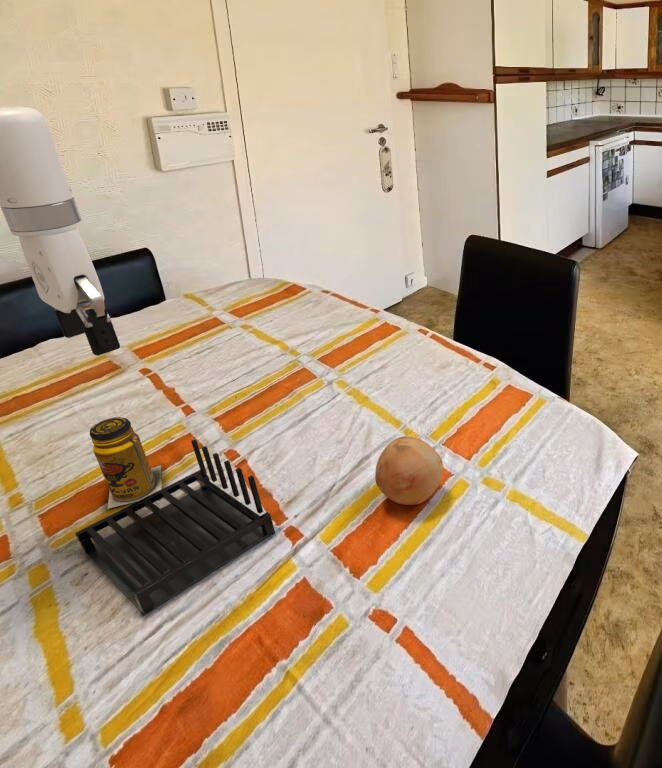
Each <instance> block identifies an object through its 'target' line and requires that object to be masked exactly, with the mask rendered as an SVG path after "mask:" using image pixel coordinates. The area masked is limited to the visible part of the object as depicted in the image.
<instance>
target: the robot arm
mask: <svg viewBox="0 0 662 768" xmlns="http://www.w3.org/2000/svg"><path fill="white" fill-rule="evenodd" d="M62 163H63V162H62V160H61V158H60V154H59V153H58V149H57V147H56V143H55V141H54V138H53V135H52V132H51V130H50V126H49V125H48V122H47V119H46V118H45V116H44V115H43V114H42V113H41V112H40V111H39V110H37V109H36V108H33V107H29V106H3V107H2V106H1V107H0V209H1V212H2V215H3V217H4V219H5V222H6V223H7V226H8V228H9V231H10V234H11V235H12V236H15V237H18V239H19V242H20V245H21V249H22V253H23V256H24V258H25V262H26V264H27V267H28V269H29V273H30V276H31V278H32V281H33V282H34V283H33V284H34V286H35V289H36V292H37V294H38V297H39V298H40V300H41V301H42V302H44V303H45V304H47V305H49V306H51V307H52V308H53V309H54V311H53V312H54V314H55V317H56V319H57V321H58V325H59V327H60V329H61V331H62V335H63V336H64V337H65V338H67V339H70V338H73V337H76V336H80V335H83V334H84V335H85V337H86V339H87V342H88V345H89V347H90V351H91V352H92V355H95V356H97V357H98V356H101V355H104V354H108V353H111V352H113V351H117V350H119V349H120V348H121V344H120V342H119V339H118V336H117V333H116V330H115V328H114V327H115V326H114V325H113V322H112V317H111V315H110V314H109V310H108V309H107V307H105V306H106V304H105V294H104V291H103V287H102V285H101V282H100V278H99V276H98V274H97V271H96V269H95V266H94V263H93V261H92V258H91V256H90V254H89V252H88V249H87V247H86V244H85V242H84V240H83V238H82V236H81V233H80V231H79V229H78V228H80V227H81V226H83V225H84V222H83V219H82V215H81V214H80V210H79V208H78V207H79V206H78V205H77V202H76V200H75V197H74V194H73V191H72V188H71V186H70V182H69V179H68V177H67V174H66V172H65V169H64V166H63V164H62ZM87 310H88V312H87V313H86V311H87Z"/></svg>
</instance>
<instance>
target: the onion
mask: <svg viewBox="0 0 662 768" xmlns="http://www.w3.org/2000/svg"><path fill="white" fill-rule="evenodd" d="M443 470H444V464H443V460H442V456H441V455H440V454H439V452H437V451H436V449H434V448H433V447H432V445H430V444H429V443H428V442H427V441H424V440H422V439H420V438H418V437H413V436H400V437H397V438H395V439H392V441H390V442H389V443H388V444H387V445H386V446H385V447H384V449H383V450H382V451H381V452H380V455H379V457H378V460H377V462H376V465H375V476H374V480H375V484H376V486H377V488H378V489H379V491H381V493H382V494H383V495H384V496H386V498H387V499H389V500H391V501H392V502H394V503H396V504H400V505H406V506H415V505H416V506H417V505H420V504H422V503H424V502H426V501H427V500H428V499H429V498H430V497H431V496H433V495H434V493H435V491H436V490H437V488H438V487H439V484H440V483H441V481H442V477H443Z"/></svg>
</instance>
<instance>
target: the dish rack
mask: <svg viewBox="0 0 662 768" xmlns="http://www.w3.org/2000/svg"><path fill="white" fill-rule="evenodd" d="M190 443H191V445H192V448H193V451H194V455H195V457H196V458H195V459H196V461H197V464H198V468H199V470H197V471H194V472H193V473H191V474H189V475H187V476H185V477H183V478H181V479H179V480H177V481H175V482H173V483H171V484H169V485H167V486H165V487H162V489H161V490H159V491H157V492H155V493H153V494H151V495H149V496H147V497H145V498H143V499H141V500H139V501H136V502H133V503H130V505H129V504H128V505H127V506H125V507H124V508H122V509H119V510H117V511H115V512H113V513H112V514H110V515H108V516H105V517H104V518H102V519H100V520H98V521H95V522H94V523H92V524H90V525H88V526H86V527H84V528H82V529H80V530H78V531H76V532H75V533H74V535H75V537H76V539H77V541H78V543H79V545H80V548H81V550H82V552H83V553H84V554H85V555H86V556H87V558H89V559H90V560H91V561H92V563H94V564H95V565H96V566H97V568H99V569H100V570H101V572H102V573H104V575H105V576H106V577H107V578H108V579H109V580H110V581H111V582H112V583H113V584H114V585H116V586H115V587H117V588H118V589H119V590H120V591H121V592H122V593H123V594H124V596H126V597H127V598H128V599H129V600H130V602H132V603H133V604H134V605H135V607H137V609H138V610H139V611H141V613H142V614H143V615H144V616H146V615H148V614H149V613H151V612H152V611H154V610H156V609H157V608H158V607H160V606H162V605H163V604H165V603H166V602H169V601H170V600H171V599H173V598H174V597H176V596H177V595H179V594H181V593H182V592H184V591H185V590H186V589H187V590H188V588H191V586H192V587H193V585H195V584H197V583H198V582H200V581H201V580H203V579H204V578H206V577H207V576H209V575H211V574H213V573H214V572H216V571H217V570H218V569H220V568H221V567H224V566H225V565H226V564H228V563H230V562H231V561H233V560H234V559H236V558H238V557H239V556H240V555H242V554H244V553H246V552H247V551H248V550H250V549H252V548H254V547H255V546H257V545H258V544H260V543H261V542H263V541H265V540H267V539H268V538H269V537H271V536H272V535H274V534H276V531H275V526H274V522H273V520H272V516H271V513H269V511H266V512H264V508H263V505H262V501H261V498H260V494H259V491H258V487H257V483H256V478H255V476H253V475H249V476H248V477H247V480H248V484H249V488H250V491H251V495H252V498H253V502H254V506H255V509H256V512H257V513H256V512H255V511H254V510H252V509H251V508H249V507H248V506H249V505H251V504H252V501H251V498H250V495H249V491H248V486H247V484H246V480H245V477H244V473H243V469H242V468H241V467H237V468H235V473H236V476H237V480H238V484H239V486H240V491H241V493H242V497H243V500H244V501H243V502H244V503H242V502H240V501H239V500H238V499H237V497H239V496H240V493H239V489H238V486H237V481H236V478H235V475H234V472H233V469H232V464H231V462H230V460H229V459H227V460H224V461H223V464H224V467H225V468H224V469H225V471H226V473H227V477H228V481H229V485H230V488H231V491H232V494H233V496H232V495H230V494H229V493H227V492H226V491H225V490H227V489H228V488H229V485H228V482H227V479H226V475H225V473H224V469H223V466H222V462H221V458H220V456H219V454H218V453H217V452H214V453H213V454H212V457H211V455H210V451H209V449H208V446H207V445H204V446H201V449H200V447H199V444H198V441H197V439H192V440H190ZM201 451H202V453H201ZM202 454H203V456H202ZM203 457H204V459H203ZM212 458H213V462H214V464H215V467H216V471H215V468H214V465H213V462H212ZM204 461H205V463H206V465H205V463H204ZM206 466H207V468H206ZM207 470H208V472H207ZM216 472H217V474H216ZM207 473H209V475H208V474H207ZM217 475H218V477H219V481H220V485H221V487H222V488H220V487H219V486H217V485H216V484H214V483H215V482H217V481H218V477H217ZM210 479H211V480H210ZM211 481H212V482H211ZM195 482H196V483H198V484H199V488H197V489H193V488H192V487H191V486H189V485H191V484H193V483H195ZM179 490H180V491H182V492H183V493H184V494H185V495H184V496H182V497H180V498H179V499H178V498H177V497H175V496H174V495H173V494H174V493H175V492H177V491H179ZM234 497H235V498H234ZM161 499H164V500H165V501H167V502H168V504H166V505H165V506H163V507H159V506H158V505H157V504H155V503H156V502H158V501H160V500H161ZM145 508H146V509H148V510H149V511H150V512H151V513H150V514H148V515H146V516H144V517H142V516H141V515H139V513H137V512H139V511H141V510H143V509H145ZM263 512H264V513H263ZM260 514H261V515H260ZM125 518H129V519H130V520H131V521H132V522H133V523H131V524H129V525H127V526H125V527H123V526H122V525H120V523H118V522H119V521H121V520H123V519H125ZM107 527H109V528H110V529H111V530H112V531H114V532H113V533H112V534H110V535H108V536H106V537H103V536H102V535H100V533H98V532H100V531H102V530H104V529H105V528H107Z"/></svg>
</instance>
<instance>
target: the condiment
mask: <svg viewBox="0 0 662 768" xmlns="http://www.w3.org/2000/svg"><path fill="white" fill-rule="evenodd" d="M89 436H90V438H91V443H92V444H93V446H92V451H93V452H92V453H93V455H94V456H95V459H96V461H97V463H98V465H99V468H100V470H101V473H102V475H103V478H104V480H105V482H106V486H107V487H108V489H109V491H108V493H109V494H108V501H107V510H108V509H113V508H116V507H119V506H125V505H129V504H133V503H135V502H137V501H139V500H141V499H143V498H145V497H147V496H149V495H151V494H153V493H155V492H157V491H159V490H161V489H163V481H162V464H159V465H157V466H153V467H151V465H150V463H149V460H148V457H147V455H146V452H145V450H144V447H143V444H142V441H141V439H140V436H139V434H138V433H137V432H135V430H134V428H133V426H132V423H131V421H130V420H129V419H128V418H126V417H121V416H117V417H115V416H114V417H109V418H106V419H104V420H101V421H99V422H96V423H95V424H93V426H92V427H90V430H89Z"/></svg>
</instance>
